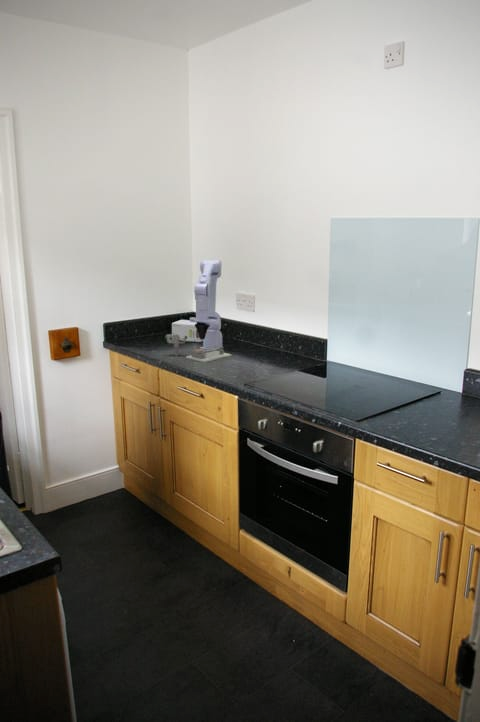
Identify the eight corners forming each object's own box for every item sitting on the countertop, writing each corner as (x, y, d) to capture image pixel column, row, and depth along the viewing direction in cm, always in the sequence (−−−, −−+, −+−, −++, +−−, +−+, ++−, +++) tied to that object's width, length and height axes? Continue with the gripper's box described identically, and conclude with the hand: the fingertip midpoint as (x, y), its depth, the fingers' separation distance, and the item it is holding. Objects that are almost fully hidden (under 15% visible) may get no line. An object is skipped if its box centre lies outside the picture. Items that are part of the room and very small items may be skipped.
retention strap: (215, 347, 281) (215, 345, 281) (222, 348, 278) (222, 346, 278) (193, 352, 270) (193, 350, 270) (200, 353, 268) (200, 351, 267)
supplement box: (171, 340, 316) (171, 322, 314) (181, 335, 328) (181, 319, 326) (200, 342, 310) (200, 325, 308) (209, 338, 322) (209, 321, 320)
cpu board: (213, 352, 286) (213, 344, 285) (231, 356, 278) (231, 348, 277) (186, 358, 273) (186, 350, 272) (204, 362, 265) (204, 354, 264)
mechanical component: (186, 356, 276) (186, 335, 274) (165, 356, 276) (164, 335, 274) (187, 355, 279) (187, 334, 277) (166, 354, 279) (165, 334, 277)
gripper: (184, 308, 269) (185, 337, 272) (207, 312, 259) (207, 342, 263) (196, 307, 274) (196, 335, 277) (218, 310, 265) (218, 340, 268)
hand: (202, 338), depth 270 cm, fingers closed
